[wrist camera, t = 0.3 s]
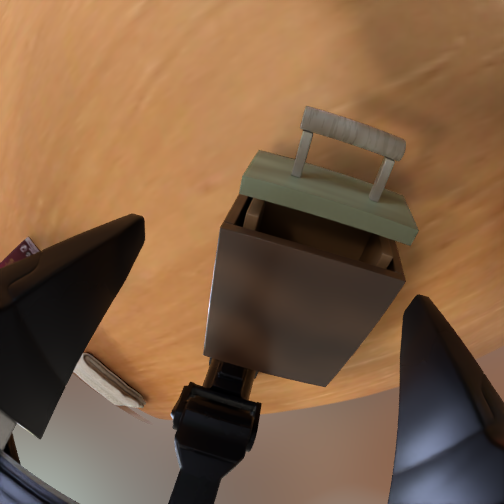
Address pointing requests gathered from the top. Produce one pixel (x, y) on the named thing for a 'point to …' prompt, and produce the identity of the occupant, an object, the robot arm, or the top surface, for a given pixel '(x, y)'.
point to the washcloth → (107, 382)
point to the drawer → (330, 195)
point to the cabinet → (291, 303)
